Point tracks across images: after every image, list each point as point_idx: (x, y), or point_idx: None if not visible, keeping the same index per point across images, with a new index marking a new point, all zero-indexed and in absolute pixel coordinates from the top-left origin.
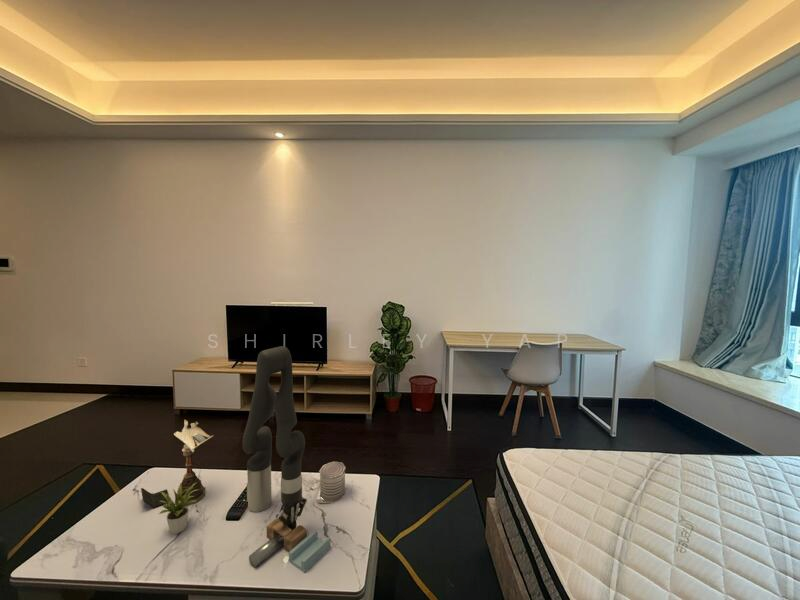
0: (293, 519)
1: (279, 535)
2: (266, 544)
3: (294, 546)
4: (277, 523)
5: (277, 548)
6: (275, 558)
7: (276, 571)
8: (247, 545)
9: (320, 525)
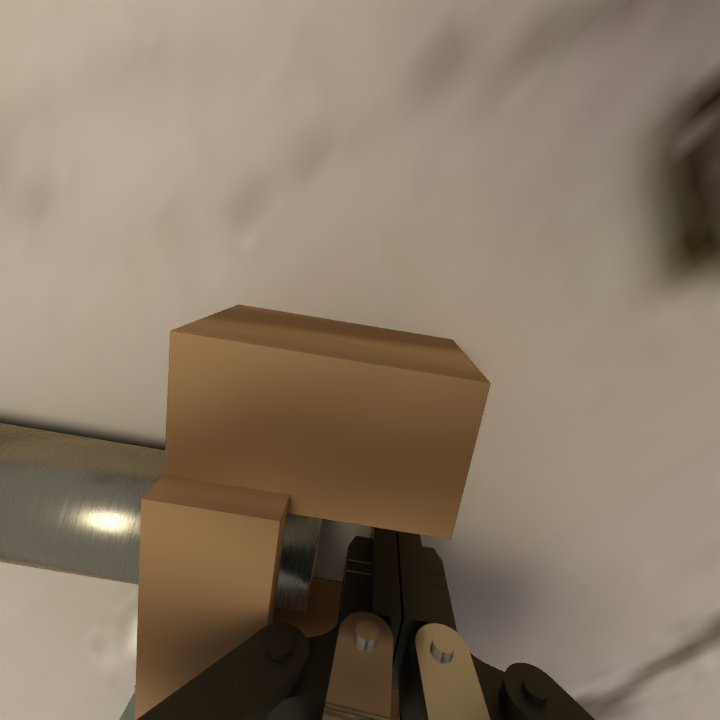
0: (400, 702)
1: None
2: (2, 536)
3: None
4: (237, 520)
5: None
6: None
7: (38, 639)
8: (51, 189)
9: (586, 671)
